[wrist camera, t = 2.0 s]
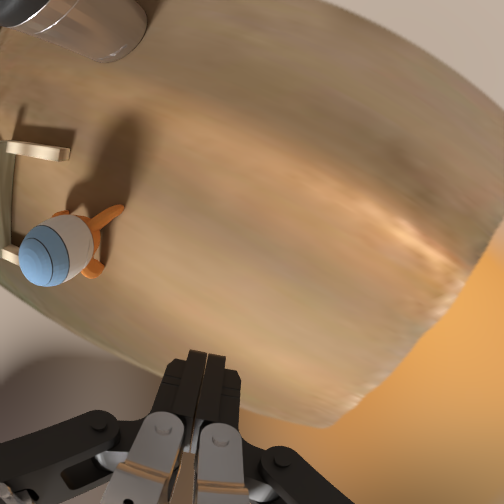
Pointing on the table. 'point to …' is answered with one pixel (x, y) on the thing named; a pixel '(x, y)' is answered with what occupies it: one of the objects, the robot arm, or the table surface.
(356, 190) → the table surface
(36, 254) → the toy rocket
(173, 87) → the table surface
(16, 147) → the cradle
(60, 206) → the table surface
